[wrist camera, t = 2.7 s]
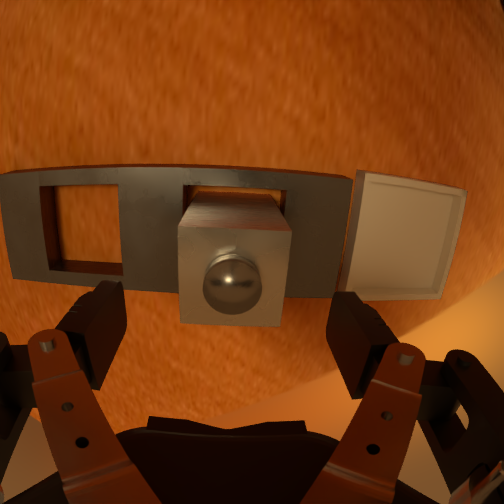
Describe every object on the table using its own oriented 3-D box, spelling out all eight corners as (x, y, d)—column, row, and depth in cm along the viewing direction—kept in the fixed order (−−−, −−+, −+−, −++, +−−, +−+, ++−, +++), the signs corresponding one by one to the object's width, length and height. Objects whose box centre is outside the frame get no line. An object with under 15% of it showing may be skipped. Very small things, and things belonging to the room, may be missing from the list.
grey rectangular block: (198, 190, 20) (174, 232, 12) (269, 194, 20) (295, 237, 12) (196, 257, 22) (177, 333, 13) (264, 260, 22) (282, 336, 14)
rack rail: (13, 170, 18) (-2, 174, 16) (342, 175, 20) (353, 179, 18) (25, 268, 21) (13, 278, 19) (325, 284, 23) (333, 297, 21)
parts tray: (356, 169, 20) (365, 172, 19) (456, 186, 21) (467, 190, 19) (337, 291, 23) (343, 300, 22) (431, 290, 24) (440, 298, 22)
